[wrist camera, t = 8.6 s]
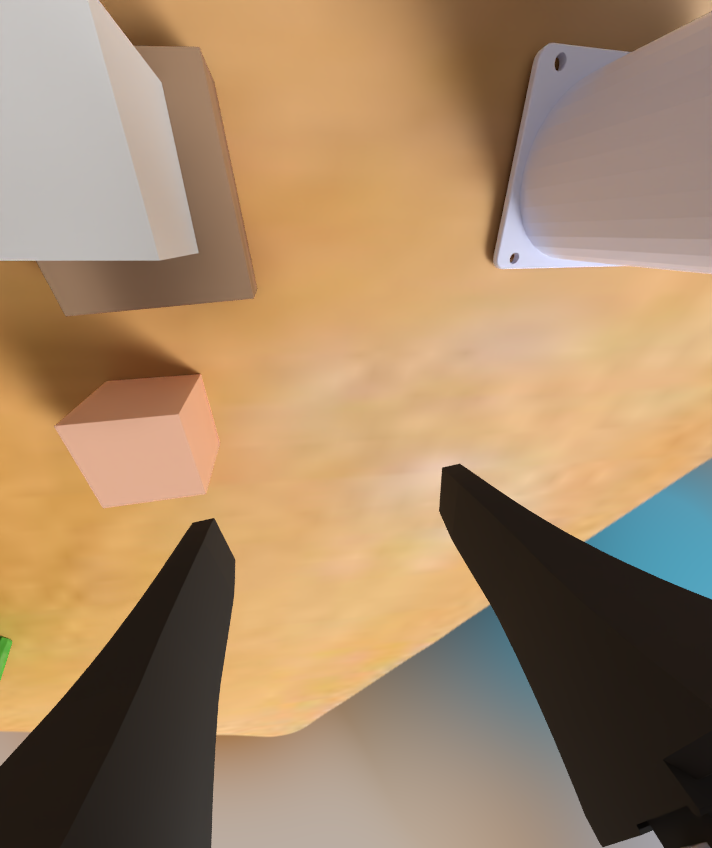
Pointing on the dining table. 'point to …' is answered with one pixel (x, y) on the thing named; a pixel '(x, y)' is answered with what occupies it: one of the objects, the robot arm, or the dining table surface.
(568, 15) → the dining table surface
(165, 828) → the robot arm
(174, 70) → the walnut base
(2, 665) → the fruit basket
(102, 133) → the grey block
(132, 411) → the terracotta block
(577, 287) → the dining table surface
